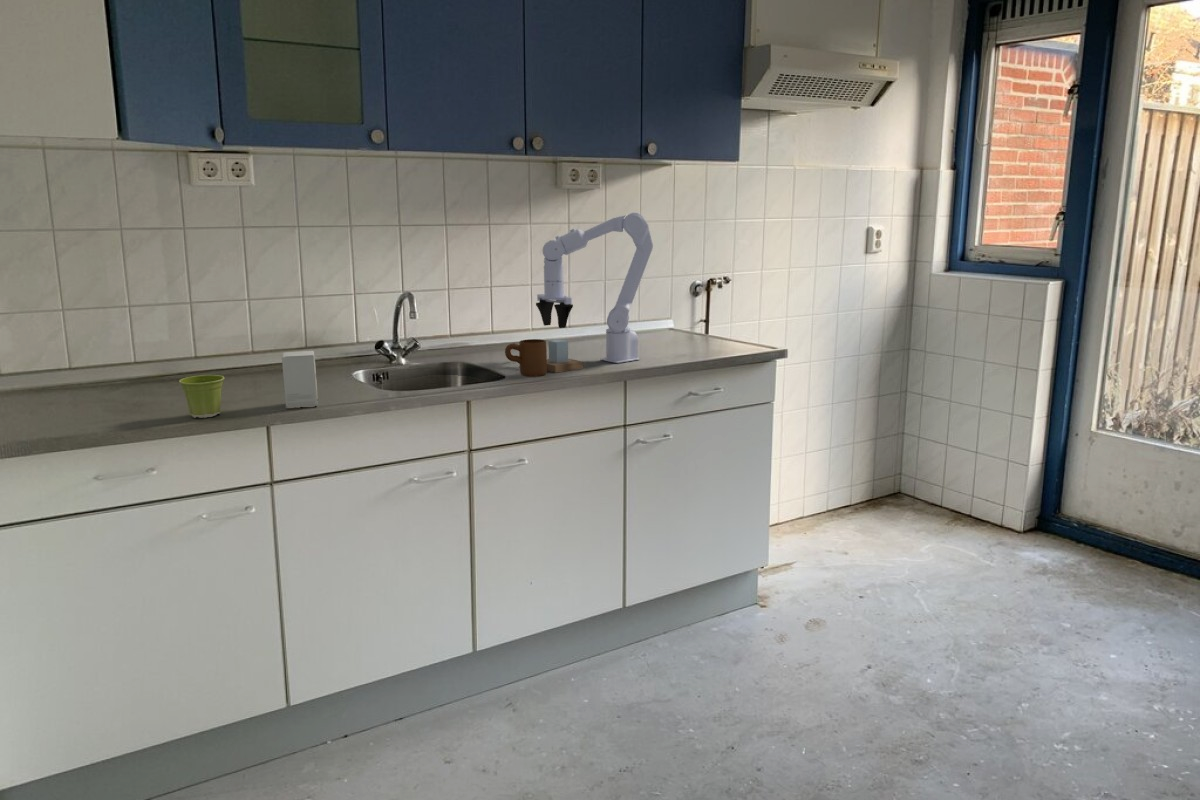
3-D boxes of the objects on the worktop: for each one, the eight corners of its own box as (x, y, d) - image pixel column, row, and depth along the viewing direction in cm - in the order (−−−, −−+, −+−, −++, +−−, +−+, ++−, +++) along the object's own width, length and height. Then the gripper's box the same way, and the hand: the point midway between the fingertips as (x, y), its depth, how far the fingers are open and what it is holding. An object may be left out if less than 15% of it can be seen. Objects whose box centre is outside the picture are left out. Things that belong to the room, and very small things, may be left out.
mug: (510, 379, 244) (509, 345, 242) (501, 374, 250) (500, 341, 248) (551, 375, 249) (550, 341, 247) (540, 370, 255) (540, 338, 253)
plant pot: (232, 416, 203) (228, 379, 201) (188, 423, 198) (183, 384, 196) (222, 409, 211) (218, 373, 209) (179, 415, 206) (175, 378, 204)
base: (562, 363, 266) (562, 357, 266) (583, 368, 258) (583, 361, 258) (534, 368, 260) (534, 361, 259) (555, 372, 252) (555, 365, 252)
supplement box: (318, 407, 212) (314, 354, 209) (285, 409, 210) (280, 356, 207) (318, 401, 219) (314, 350, 216) (286, 403, 217) (282, 351, 214)
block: (560, 359, 261) (559, 339, 260) (568, 361, 258) (567, 341, 257) (548, 361, 259) (548, 340, 258) (557, 363, 256) (556, 342, 255)
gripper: (528, 280, 269) (529, 325, 272) (557, 283, 259) (558, 330, 261) (547, 279, 274) (548, 323, 277) (576, 281, 263) (577, 327, 266)
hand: (554, 326), depth 269 cm, fingers open, 7 cm apart
